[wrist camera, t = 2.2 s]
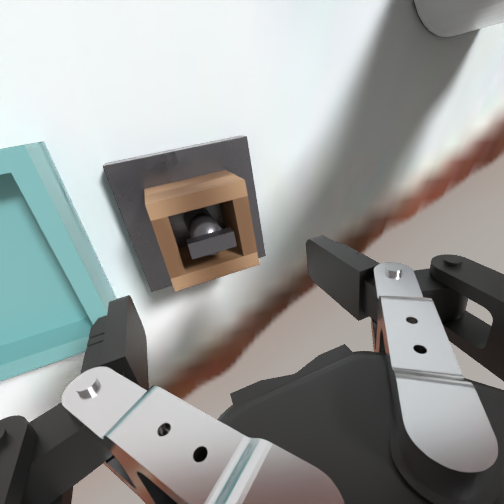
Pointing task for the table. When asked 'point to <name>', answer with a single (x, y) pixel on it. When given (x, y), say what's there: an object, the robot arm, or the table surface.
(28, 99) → the table surface
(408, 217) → the table surface
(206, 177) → the walnut collar
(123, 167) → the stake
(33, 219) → the tray
